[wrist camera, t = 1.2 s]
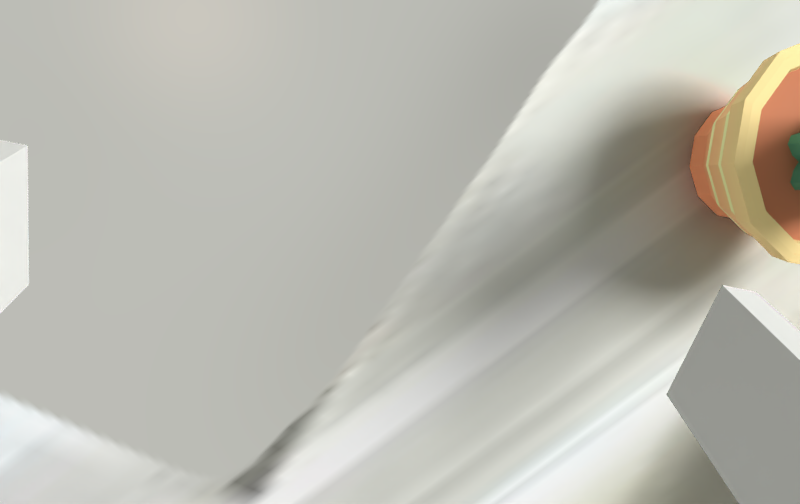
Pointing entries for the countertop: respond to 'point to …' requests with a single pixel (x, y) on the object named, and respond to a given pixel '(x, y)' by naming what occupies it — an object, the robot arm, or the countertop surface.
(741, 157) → the potted cactus
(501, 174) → the countertop surface
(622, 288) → the countertop surface
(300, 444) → the countertop surface
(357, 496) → the countertop surface
